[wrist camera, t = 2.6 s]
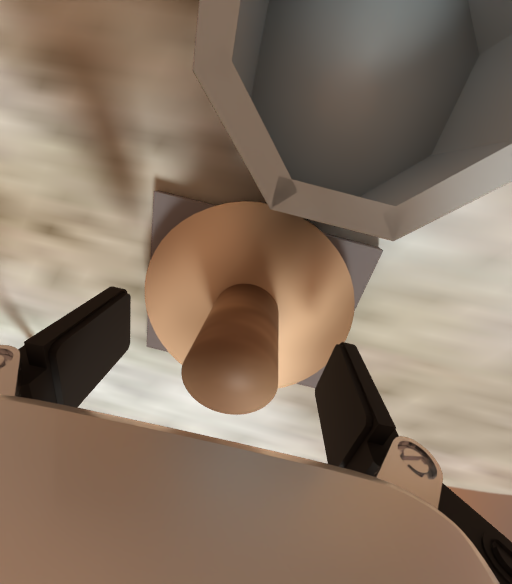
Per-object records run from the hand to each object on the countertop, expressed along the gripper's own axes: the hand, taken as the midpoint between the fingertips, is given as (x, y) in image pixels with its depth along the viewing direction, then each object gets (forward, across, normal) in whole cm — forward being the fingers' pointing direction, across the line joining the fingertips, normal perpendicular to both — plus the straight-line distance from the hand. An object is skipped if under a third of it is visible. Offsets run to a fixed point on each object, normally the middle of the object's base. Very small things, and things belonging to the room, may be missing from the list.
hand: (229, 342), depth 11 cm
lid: (+4, 0, 0) cm, 4 cm away
